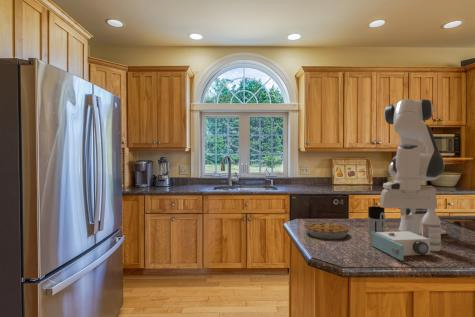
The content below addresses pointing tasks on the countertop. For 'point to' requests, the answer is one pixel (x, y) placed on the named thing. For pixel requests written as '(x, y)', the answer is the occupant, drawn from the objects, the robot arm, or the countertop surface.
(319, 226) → the pie
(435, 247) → the bath foam
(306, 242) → the countertop surface
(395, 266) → the countertop surface
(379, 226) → the grey mug
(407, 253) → the knobbed cream box
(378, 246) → the side door
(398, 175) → the robot arm
